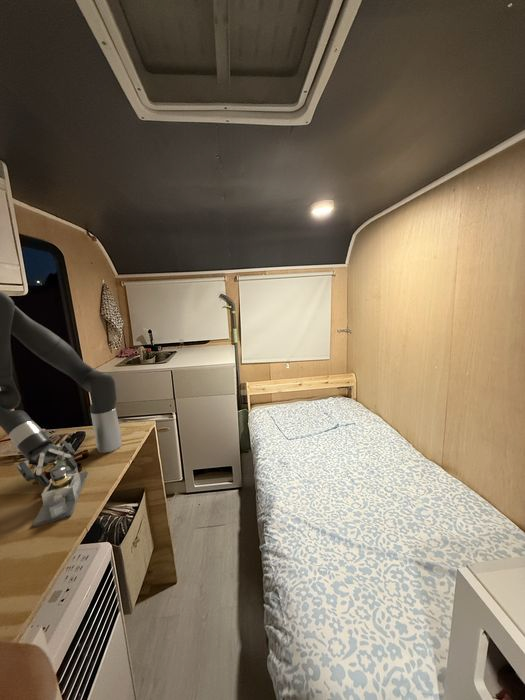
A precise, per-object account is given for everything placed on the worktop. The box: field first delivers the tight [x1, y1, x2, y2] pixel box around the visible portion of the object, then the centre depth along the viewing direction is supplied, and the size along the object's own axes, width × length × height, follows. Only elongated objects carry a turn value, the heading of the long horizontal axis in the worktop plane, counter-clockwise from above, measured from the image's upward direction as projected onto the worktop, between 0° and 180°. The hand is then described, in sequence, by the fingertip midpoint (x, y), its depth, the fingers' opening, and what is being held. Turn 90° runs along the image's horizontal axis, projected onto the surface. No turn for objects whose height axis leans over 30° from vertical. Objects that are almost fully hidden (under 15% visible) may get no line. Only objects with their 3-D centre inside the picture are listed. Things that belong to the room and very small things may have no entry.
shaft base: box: [32, 466, 89, 528], centre depth 89 cm, size 22×9×5 cm, turn 21°
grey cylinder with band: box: [49, 465, 70, 490], centre depth 89 cm, size 4×4×9 cm
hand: (62, 476), depth 88 cm, fingers open, 8 cm apart
